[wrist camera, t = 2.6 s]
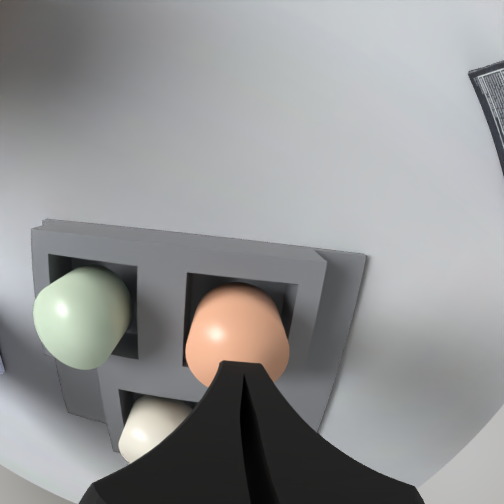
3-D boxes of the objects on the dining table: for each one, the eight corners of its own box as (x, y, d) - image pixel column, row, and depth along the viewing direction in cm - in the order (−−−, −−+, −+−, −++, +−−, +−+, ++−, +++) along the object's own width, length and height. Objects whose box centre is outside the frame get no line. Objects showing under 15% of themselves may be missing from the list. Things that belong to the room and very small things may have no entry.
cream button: (135, 434, 16) (123, 468, 13) (129, 388, 15) (113, 423, 12) (197, 445, 16) (194, 481, 13) (199, 399, 15) (194, 437, 12)
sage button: (67, 330, 14) (40, 358, 11) (61, 259, 13) (28, 276, 10) (134, 344, 14) (116, 377, 12) (133, 269, 14) (110, 291, 11)
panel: (70, 408, 18) (55, 433, 15) (47, 219, 15) (17, 227, 12) (311, 439, 19) (319, 469, 17) (362, 253, 16) (386, 268, 14)
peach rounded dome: (192, 353, 15) (184, 389, 12) (197, 277, 14) (187, 302, 11) (272, 360, 15) (280, 397, 12) (285, 286, 14) (298, 313, 11)
